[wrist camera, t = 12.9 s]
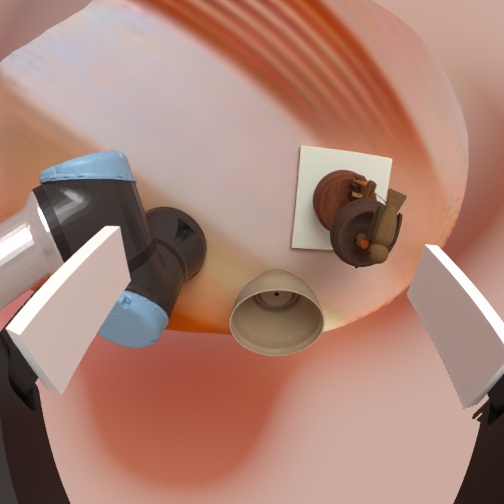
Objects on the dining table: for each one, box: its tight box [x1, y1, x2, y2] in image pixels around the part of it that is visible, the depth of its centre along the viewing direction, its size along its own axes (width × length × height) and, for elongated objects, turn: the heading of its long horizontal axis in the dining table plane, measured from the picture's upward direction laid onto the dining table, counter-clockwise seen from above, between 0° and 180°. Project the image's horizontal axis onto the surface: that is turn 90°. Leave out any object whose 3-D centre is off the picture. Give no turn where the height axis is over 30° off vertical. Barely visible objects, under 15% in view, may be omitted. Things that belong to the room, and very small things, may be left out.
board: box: [291, 146, 392, 250], centre depth 44 cm, size 16×18×1 cm
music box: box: [313, 170, 406, 268], centre depth 36 cm, size 15×11×20 cm
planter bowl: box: [229, 270, 324, 356], centre depth 49 cm, size 16×16×11 cm
